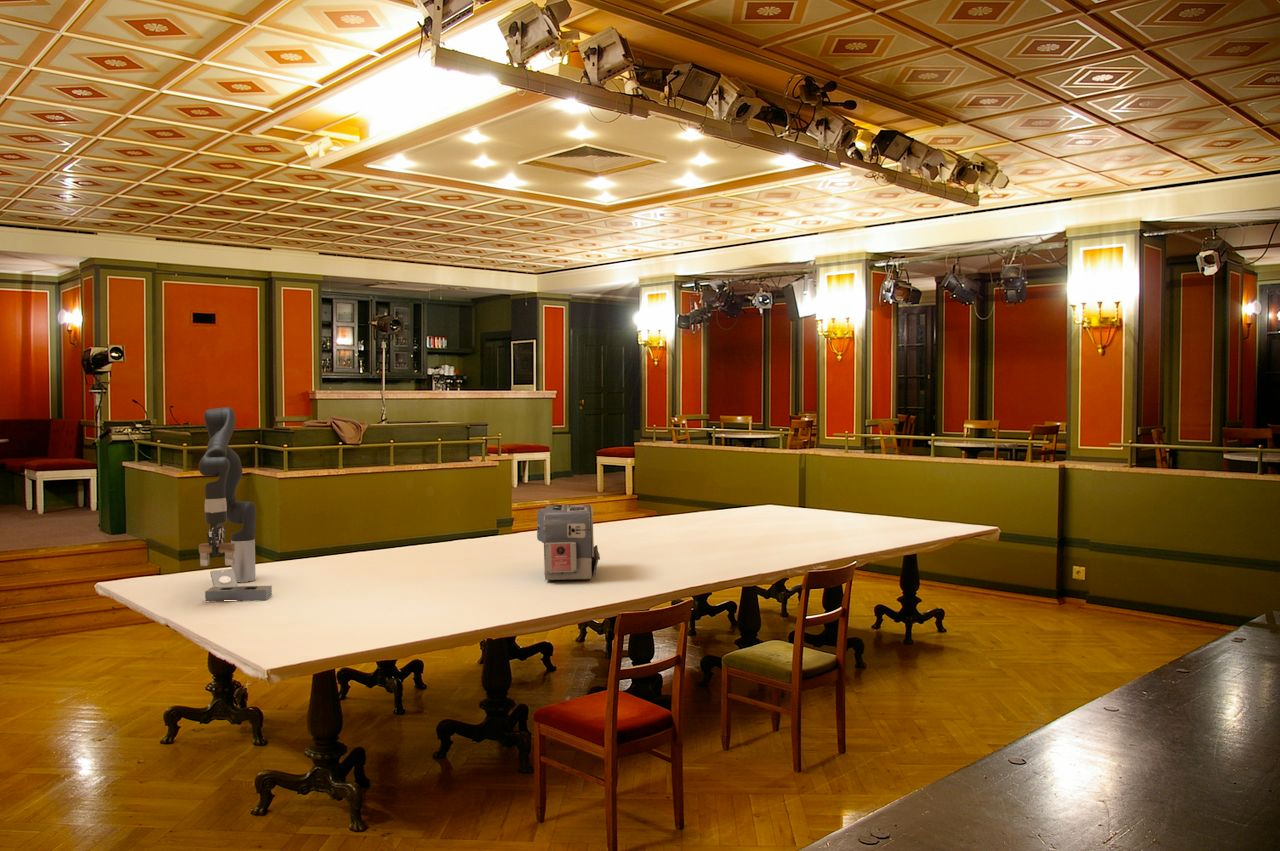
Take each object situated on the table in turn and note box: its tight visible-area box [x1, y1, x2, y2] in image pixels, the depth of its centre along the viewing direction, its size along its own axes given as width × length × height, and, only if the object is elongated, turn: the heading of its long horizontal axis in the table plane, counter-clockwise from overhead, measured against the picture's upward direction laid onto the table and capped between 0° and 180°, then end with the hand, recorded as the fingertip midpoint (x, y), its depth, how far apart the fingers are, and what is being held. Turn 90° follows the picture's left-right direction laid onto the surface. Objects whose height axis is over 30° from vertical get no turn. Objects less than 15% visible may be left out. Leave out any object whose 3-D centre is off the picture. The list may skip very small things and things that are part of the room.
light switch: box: [209, 568, 239, 587], centre depth 376 cm, size 8×6×14 cm
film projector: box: [536, 504, 601, 583], centre depth 403 cm, size 39×29×30 cm
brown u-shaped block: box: [198, 542, 235, 567], centre depth 357 cm, size 3×12×8 cm, turn 95°
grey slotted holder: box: [204, 585, 273, 601], centre depth 362 cm, size 8×22×4 cm, turn 96°
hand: (217, 555), depth 357 cm, fingers closed on brown u-shaped block, 3 cm apart
